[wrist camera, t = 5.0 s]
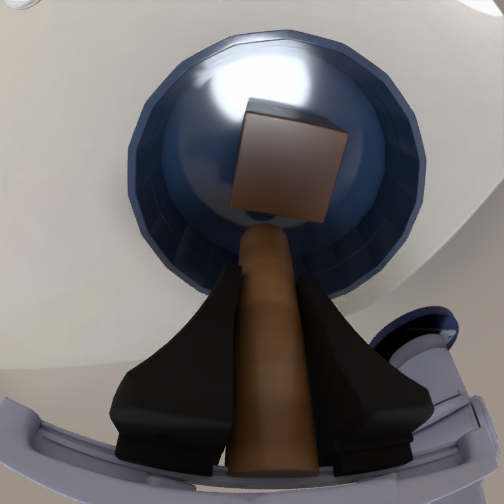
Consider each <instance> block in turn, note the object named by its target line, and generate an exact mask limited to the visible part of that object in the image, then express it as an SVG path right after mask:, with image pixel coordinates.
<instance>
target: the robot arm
mask: <svg viewBox="0 0 504 504" xmlns="http://www.w3.org/2000/svg"><path fill="white" fill-rule="evenodd" d="M241 280H242V266H240V265H233V264H225V265H224V266H223V270H222V272H221V275H220V277H219V279H218V281H217V283H216V284H215V286H214V288H213V289H212V291H211V293H210V294H209V296H208V297H207V299H206V300H205V301H204V303H203V304H202V306H201V307H200V308H199V310H198V311H197V312H196V313H195V315H194V316H193V317H192V318H191V319H190V321H189V322H188V323H187V324H186V325H185V326H184V327H183V328H182V329H181V330H180V331H179V332H178V333H177V334H176V335H175V336H174V337H173V338H172V339H171V340H170V341H169V342H168V343H167V344H165V345H164V346H163V347H162V348H160V349H159V350H158V351H157V352H156V353H154V354H153V355H152V356H150V357H149V358H148V359H146V360H145V361H143V362H142V363H140V364H139V365H137V366H136V367H135V368H133V369H132V370H130V371H128V372H127V373H126V375H125V376H124V378H123V380H122V381H121V383H120V385H119V387H118V389H117V391H116V394H115V396H114V398H113V402H112V405H111V409H110V412H109V414H110V418H111V420H112V422H113V423H114V425H115V427H116V428H117V430H118V432H119V436H118V440H117V445H116V446H112V445H109V444H106V443H102V442H99V441H96V440H93V439H90V438H87V437H84V436H81V435H78V434H75V433H73V432H70V431H67V430H65V429H62V428H60V427H57V426H55V425H52V424H50V423H48V422H45V421H43V420H41V419H40V417H39V416H38V414H37V413H35V412H34V411H33V410H31V409H30V408H28V407H26V406H24V405H22V404H20V403H18V402H16V401H14V400H12V399H10V398H8V397H4V399H3V402H2V404H1V406H0V463H1V464H3V465H5V466H6V467H8V468H10V469H11V470H13V471H15V472H16V473H18V474H20V475H22V476H24V477H25V478H28V479H29V480H31V481H33V482H35V483H37V484H39V485H41V486H43V487H45V488H47V489H49V490H52V491H54V492H56V493H58V494H60V495H63V496H65V497H68V498H70V499H72V500H75V501H77V502H80V503H83V504H428V503H432V504H486V502H485V497H484V493H483V488H482V484H483V483H484V481H485V480H486V478H487V477H488V475H490V474H492V473H493V472H495V471H497V470H498V465H497V462H498V459H499V454H500V449H499V446H498V442H497V435H496V432H495V429H494V426H493V424H492V421H491V418H490V415H489V413H488V410H487V408H486V405H485V403H484V401H483V398H482V397H480V396H478V397H477V395H474V396H473V397H472V398H470V396H469V395H468V394H467V391H466V389H465V386H464V384H463V382H462V379H461V377H460V375H459V372H458V370H457V368H456V366H455V363H454V361H453V359H452V357H451V355H450V353H449V350H448V348H447V346H446V345H447V343H448V342H449V341H450V340H451V338H452V337H453V336H454V335H455V333H456V331H455V329H438V328H407V329H405V330H404V332H403V333H402V334H401V336H400V337H399V339H398V340H397V342H396V343H395V344H394V346H393V347H392V348H391V350H390V351H389V352H388V354H387V355H386V356H385V358H383V357H381V356H380V355H379V354H378V353H377V352H376V351H375V350H374V349H373V348H371V347H370V346H369V345H368V344H367V343H366V342H365V341H364V340H363V338H361V336H360V335H359V334H358V333H357V332H356V331H355V330H354V329H353V328H352V326H351V325H350V324H349V323H348V322H347V321H346V319H345V318H344V317H343V315H342V314H341V313H340V312H339V310H338V309H337V308H336V306H335V305H334V304H333V302H332V301H331V299H330V298H329V297H328V295H327V294H326V292H325V291H324V289H323V288H322V287H321V285H320V284H319V282H318V281H317V279H316V278H315V277H314V276H312V275H305V274H299V277H298V280H297V283H296V290H297V297H298V303H299V310H300V316H301V323H302V330H303V337H304V344H305V351H306V358H307V366H308V373H309V381H310V389H311V397H312V406H313V414H314V423H315V432H316V442H317V452H318V462H319V476H317V477H300V478H249V477H232V476H227V475H226V473H227V471H228V467H227V466H218V463H219V460H220V458H221V454H222V453H223V452H224V448H225V446H226V443H227V440H228V437H229V434H230V431H231V428H232V424H233V406H234V405H233V336H234V317H235V311H236V306H237V301H238V296H239V291H240V286H241ZM355 482H357V483H356V484H350V485H343V486H335V487H326V488H315V489H301V490H289V491H280V492H271V493H218V492H202V491H196V487H195V486H194V485H192V484H197V485H205V486H214V487H225V488H241V489H298V488H314V487H325V486H334V485H342V484H349V483H355ZM188 483H189V484H188Z"/></svg>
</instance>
